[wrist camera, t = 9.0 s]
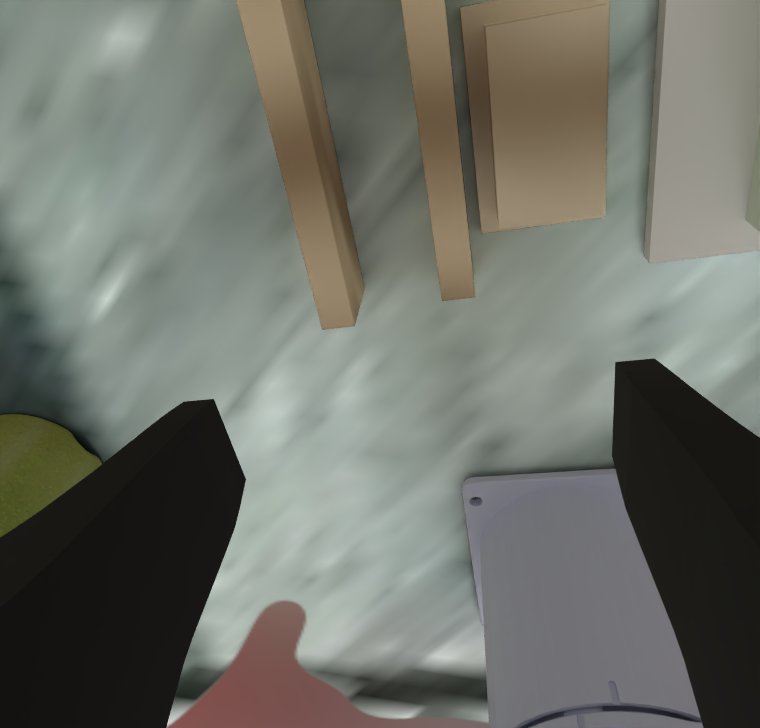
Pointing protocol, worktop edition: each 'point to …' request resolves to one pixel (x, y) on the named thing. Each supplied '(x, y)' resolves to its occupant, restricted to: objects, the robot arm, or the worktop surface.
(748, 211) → the block
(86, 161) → the worktop surface
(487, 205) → the offcut lower
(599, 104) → the offcut upper
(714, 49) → the mat
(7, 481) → the plant pot
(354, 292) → the rack
